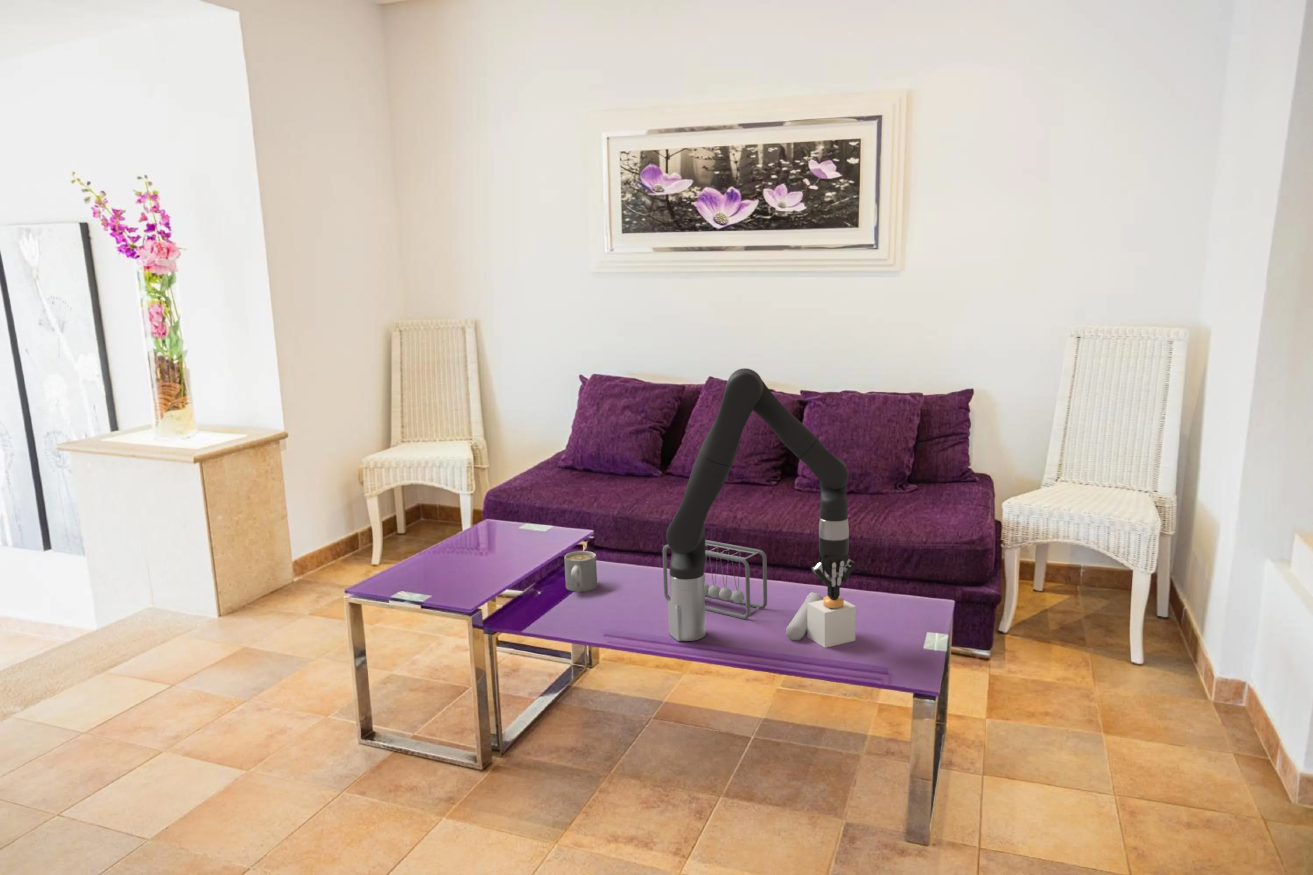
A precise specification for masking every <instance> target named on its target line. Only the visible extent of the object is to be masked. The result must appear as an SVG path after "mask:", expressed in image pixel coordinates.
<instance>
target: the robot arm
mask: <svg viewBox="0 0 1313 875" xmlns="http://www.w3.org/2000/svg"><path fill="white" fill-rule="evenodd" d="M753 412H754V413H756V415H758V416H759V417H760V418H761V419H762V421H764V422H765V423H766V424H767V425H768V427H770V429H771V430H772V431H773V433H774V435H776V436H777V437H778V439H779V440H780V442H782V444H784V446H785V447H787V449H788V450H789V451H791V453H793V454H794V455H795V456H796V457H797V458H798V459H799V460H800V461H801V462H802V463H804V464H805V465H806V466H807V468H808V469H809V470H810V471H811V472H812V473H813V474H814V475H815V477H816V478H817V480H819V488H820V503H819V523H818V551H819V558H818V563H817V564H816V565H815V566H814V565H813V566H811V567H810V569H811V572H812V573H813V574H814V575H815V577H816V578H817V579H818V580H819V581H820V583H821V584H823V585H825V586H827V596H828V597H829V598H830V599H832V600H836V599H838V597H839V596H840V595H841V593H840V590H841V589H840V588H841V587H840V586H841V584H842V583H846V582H847V581H848V579H849V577H850V576H851V574H852V572H853V571H854V569H855V568H856V566H857V563H856V562H855V561H853V560H851V559H850V555H849V554H848V553H849V548H850V547H849V542H850V541H849V539H850V538H849V537H850V536H849V535H850V534H849V531H850V530H849V527H850V526H849V518H848V517H849V516H848V513H849V511H848V509H849V508H848V505H849V504H848V498H847V483H848V480H849V477H850V476H849V475H850V474H849V473H850V472H849V469H848V467H847V464H846V463H845V462H844V460H843V459H842V458H840V457H838V456H834V455H833V454H832V453H831V451H829V450H828V449H827V448H826V447H825V445H824V444H823V442H822V441H821V440H820V438H819V437H817V436H816V435H815V434H814V433H813V432H811V430H810V429H808V427H807V426H806V425H805V424H803V423H802V422H801V421H800V420H799V419H798V418H797V417H796V416H795V415H793V414H792V413H791V412H790V411H789V410H788V409H787V408H786V407H785V406H784V405H783V404H782V403H781V402H780V401H779V400H778V398H776V396H775V394H773V392H772V391H771V389H769V387H768V386H767V385H766V384H765V382H764V380H763V379H762V378H761V376H760V375H759V373H758V372H756V371H755V370H753V369H750V368H747V367H746V368H745V367H744V368H739V369H737V370H735V371H734V372H732V373H731V374H730V376H729V378H728V379H727V381H726V385H725V388H724V393H723V396H722V401H721V404H720V407H719V411H718V413H717V416H716V419H715V420H714V423H713V424H712V425H711V428H710V430H709V431H708V433H707V435H706V436H705V438H704V440H703V443H702V444H701V447H700V449H699V452H698V454H697V456H696V459H695V462H694V464H693V467H692V470H691V473H690V475H689V479H688V481H687V483H686V484H687V485H686V489H685V491H684V496H683V498H682V501H681V503H680V505H679V507H678V509H677V511H676V512H675V514H674V517H673V519H672V521H671V522H670V524H669V525H668V527H667V530H666V534H665V539H666V540H665V541H666V543H667V544H668V546H669V548H668V549H670V550H671V555H670V556H671V557H670V562H669V586H670V587H669V588H670V590H669V591H670V592H669V597H670V598H671V600H669V601H668V600H667V618H668V619H667V621H668V635H670V636H671V637H672V638H673V639H674V640H676V641H677V642H689V641H690V642H692V641H698V640H701V639H703V638H705V637H706V632H707V631H706V627H707V626H706V610H705V606H706V598H705V597H706V596H705V592H704V583H705V582H704V576H705V564H706V555H705V550H706V545H705V540H706V529H705V522H706V518H707V516H708V513H709V511H710V509H711V507H712V506H713V504H714V502H715V500H716V498H717V497H718V496H719V494H720V492H721V490H722V488H723V487H724V485H725V482H726V480H727V479H728V476H729V474H730V471H731V469H732V467H733V464H734V462H735V458H736V456H737V452H738V449H739V446H740V443H741V442H740V441H741V438H742V434H743V431H744V429H745V426H746V424H747V421H748V420H749V418H750V416H751V414H752V413H753ZM667 544H666V545H667Z"/></svg>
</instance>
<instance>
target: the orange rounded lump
mask: <svg viewBox="0 0 1313 875" xmlns="http://www.w3.org/2000/svg"><path fill="white" fill-rule="evenodd" d="M823 604H824V606H826V607H828V608H829V609H831V610H833V609H838V608H840V607H842V606H843V605H844V597H842V596H840V595H839V597H838V599H836V600H832V599H830V598H829V597H828V595H826V596H824V597H823Z"/></svg>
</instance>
